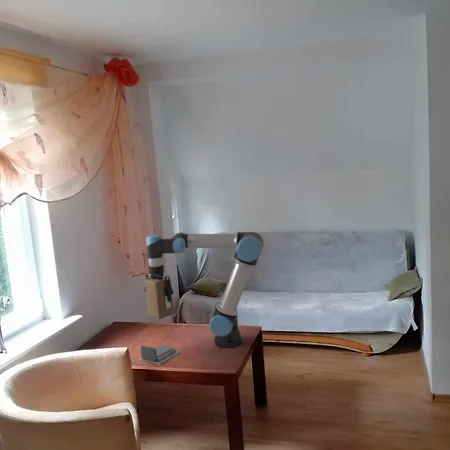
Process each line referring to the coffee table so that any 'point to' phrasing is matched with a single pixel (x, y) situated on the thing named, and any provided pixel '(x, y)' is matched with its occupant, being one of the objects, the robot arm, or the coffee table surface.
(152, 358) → the grey l-shaped piece
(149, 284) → the block
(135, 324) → the coffee table surface
